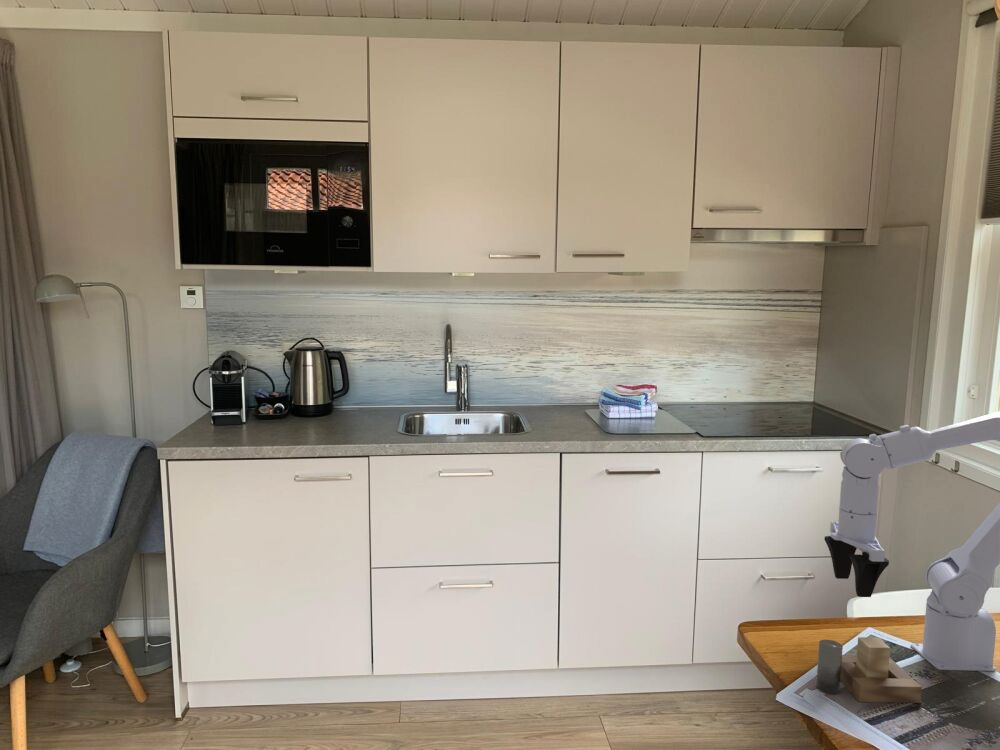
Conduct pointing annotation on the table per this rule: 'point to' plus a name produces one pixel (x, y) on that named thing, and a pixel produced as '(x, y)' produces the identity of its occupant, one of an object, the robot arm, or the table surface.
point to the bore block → (879, 684)
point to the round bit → (829, 666)
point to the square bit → (873, 657)
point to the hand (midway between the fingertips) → (852, 586)
